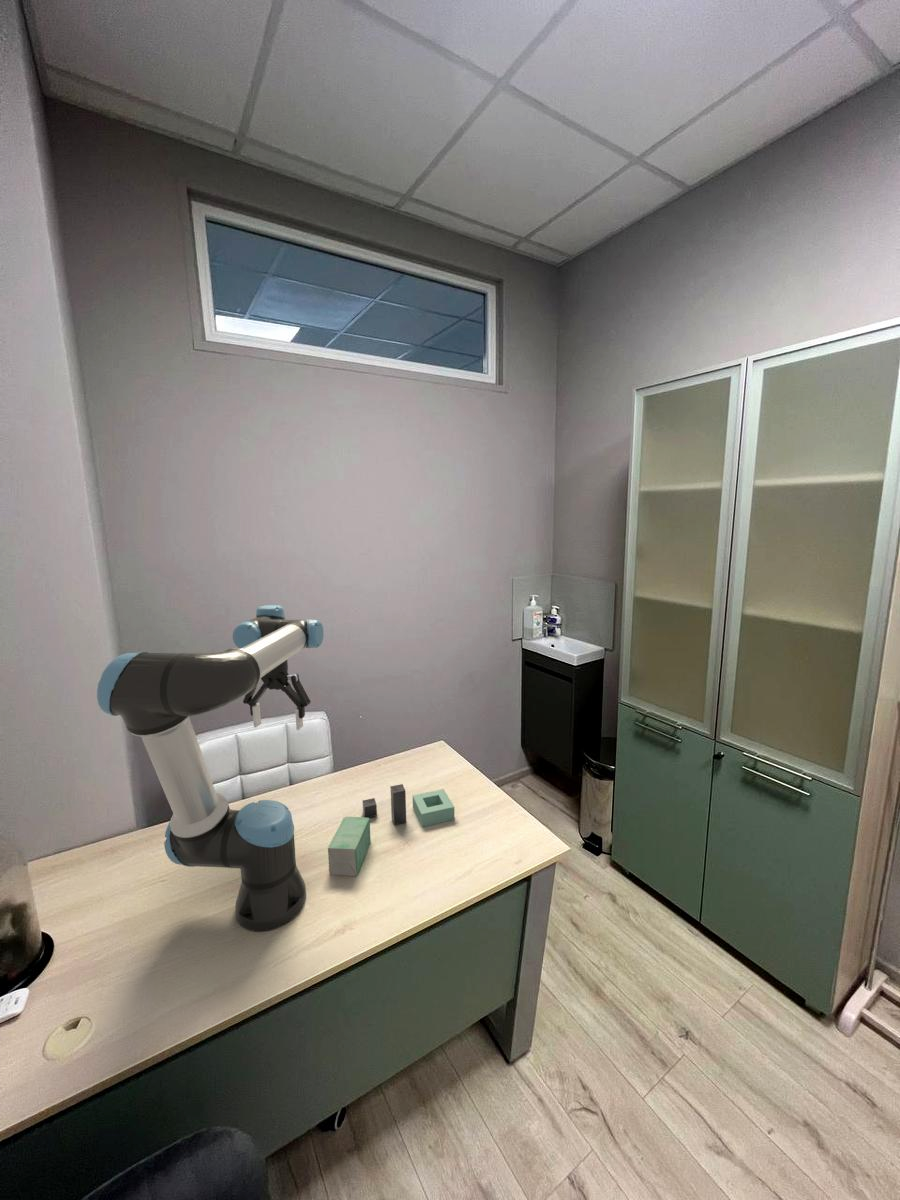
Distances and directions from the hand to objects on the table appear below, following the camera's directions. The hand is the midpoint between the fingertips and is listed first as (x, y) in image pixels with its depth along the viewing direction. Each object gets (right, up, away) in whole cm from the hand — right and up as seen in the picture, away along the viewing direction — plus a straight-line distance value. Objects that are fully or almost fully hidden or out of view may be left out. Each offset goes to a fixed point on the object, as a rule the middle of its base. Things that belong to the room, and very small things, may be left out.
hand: (278, 726), depth 142 cm
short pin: (+27, -26, 0) cm, 38 cm away
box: (+25, -30, -17) cm, 43 cm away
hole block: (+46, -26, 0) cm, 53 cm away
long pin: (+36, -27, -3) cm, 45 cm away
